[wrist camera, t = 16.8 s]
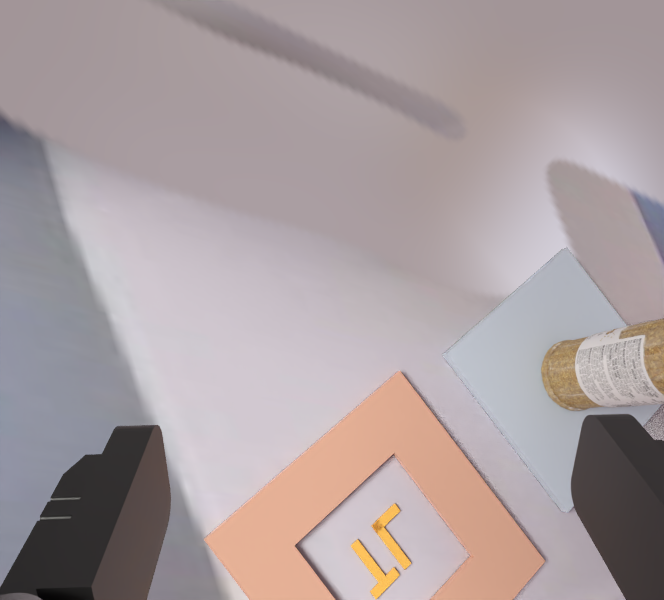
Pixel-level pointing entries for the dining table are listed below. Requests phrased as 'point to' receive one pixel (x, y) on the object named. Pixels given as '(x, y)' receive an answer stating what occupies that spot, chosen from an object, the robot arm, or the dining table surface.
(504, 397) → the pad
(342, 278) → the dining table surface
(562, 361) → the sprinkles bottle
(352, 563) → the dining table surface
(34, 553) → the robot arm
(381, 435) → the peach square frame
